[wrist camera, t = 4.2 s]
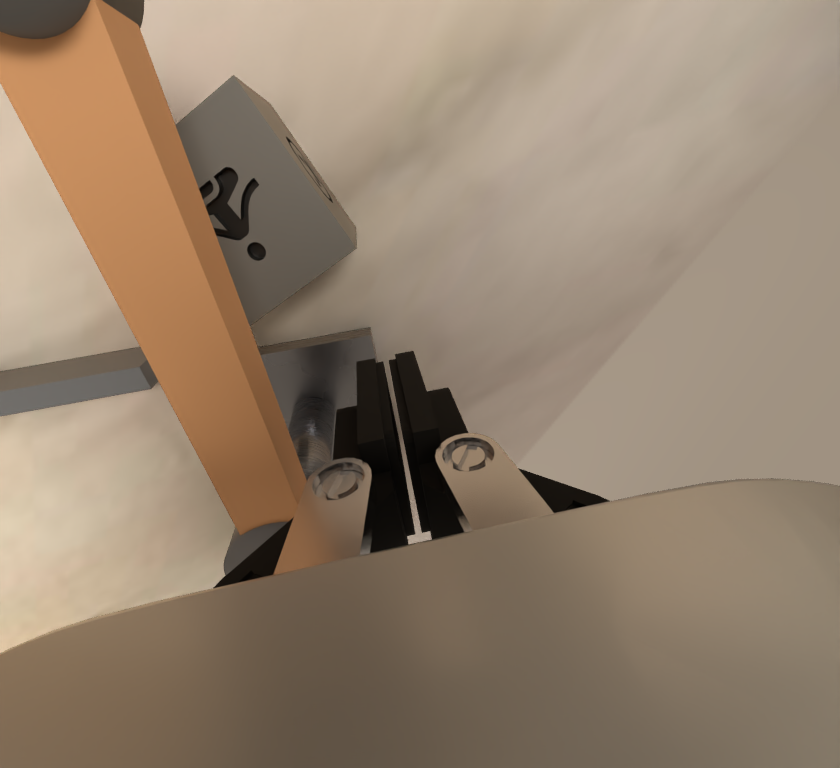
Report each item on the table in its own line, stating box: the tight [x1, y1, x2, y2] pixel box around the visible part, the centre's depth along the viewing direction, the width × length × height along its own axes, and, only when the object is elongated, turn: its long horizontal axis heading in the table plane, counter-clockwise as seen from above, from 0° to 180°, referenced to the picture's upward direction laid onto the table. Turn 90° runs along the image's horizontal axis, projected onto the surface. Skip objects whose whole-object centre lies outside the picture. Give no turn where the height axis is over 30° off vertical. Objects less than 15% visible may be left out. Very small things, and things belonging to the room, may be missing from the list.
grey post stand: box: [258, 328, 378, 480], centre depth 17 cm, size 7×7×8 cm
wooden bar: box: [0, 0, 307, 575], centre depth 9 cm, size 17×4×2 cm, turn 8°
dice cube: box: [175, 75, 357, 326], centre depth 14 cm, size 5×5×5 cm
